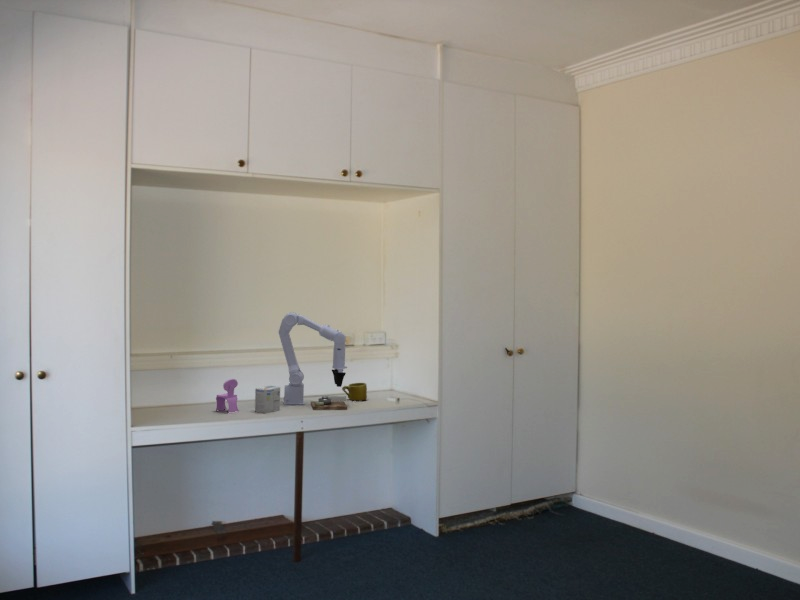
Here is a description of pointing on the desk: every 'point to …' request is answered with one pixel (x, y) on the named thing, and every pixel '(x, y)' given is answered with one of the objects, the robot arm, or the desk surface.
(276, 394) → the light bulb box
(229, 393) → the toy chair
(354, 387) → the mug
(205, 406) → the desk surface
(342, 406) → the base
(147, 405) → the desk surface
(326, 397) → the grey lever handle
